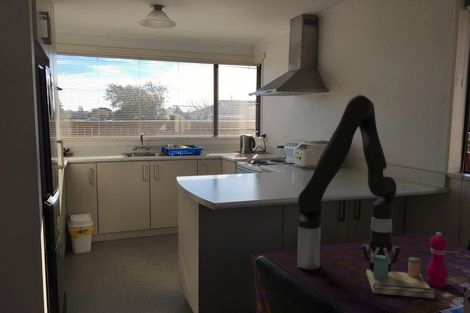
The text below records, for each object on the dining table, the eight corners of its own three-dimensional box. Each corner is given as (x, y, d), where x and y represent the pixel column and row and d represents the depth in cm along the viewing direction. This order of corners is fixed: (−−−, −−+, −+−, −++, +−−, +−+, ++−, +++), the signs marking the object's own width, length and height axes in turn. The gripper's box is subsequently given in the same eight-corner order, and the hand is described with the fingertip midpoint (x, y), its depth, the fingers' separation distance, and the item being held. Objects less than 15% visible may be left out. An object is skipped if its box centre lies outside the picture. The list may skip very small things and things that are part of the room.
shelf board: (373, 293, 135) (373, 284, 135) (366, 273, 153) (366, 265, 152) (434, 298, 131) (434, 289, 131) (419, 277, 149) (420, 269, 148)
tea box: (374, 278, 143) (374, 261, 143) (371, 271, 150) (372, 254, 150) (388, 280, 142) (388, 262, 142) (384, 272, 149) (385, 255, 149)
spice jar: (409, 277, 145) (410, 260, 144) (406, 273, 149) (407, 256, 148) (421, 278, 144) (421, 261, 143) (418, 274, 148) (418, 257, 147)
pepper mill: (446, 289, 138) (449, 235, 136) (424, 284, 142) (427, 232, 140) (447, 282, 144) (450, 231, 143) (426, 278, 148) (429, 228, 146)
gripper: (399, 227, 147) (397, 269, 149) (360, 225, 150) (359, 266, 151) (403, 232, 140) (401, 277, 141) (362, 230, 143) (361, 274, 144)
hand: (379, 271), depth 146 cm, fingers closed on tea box, 5 cm apart
